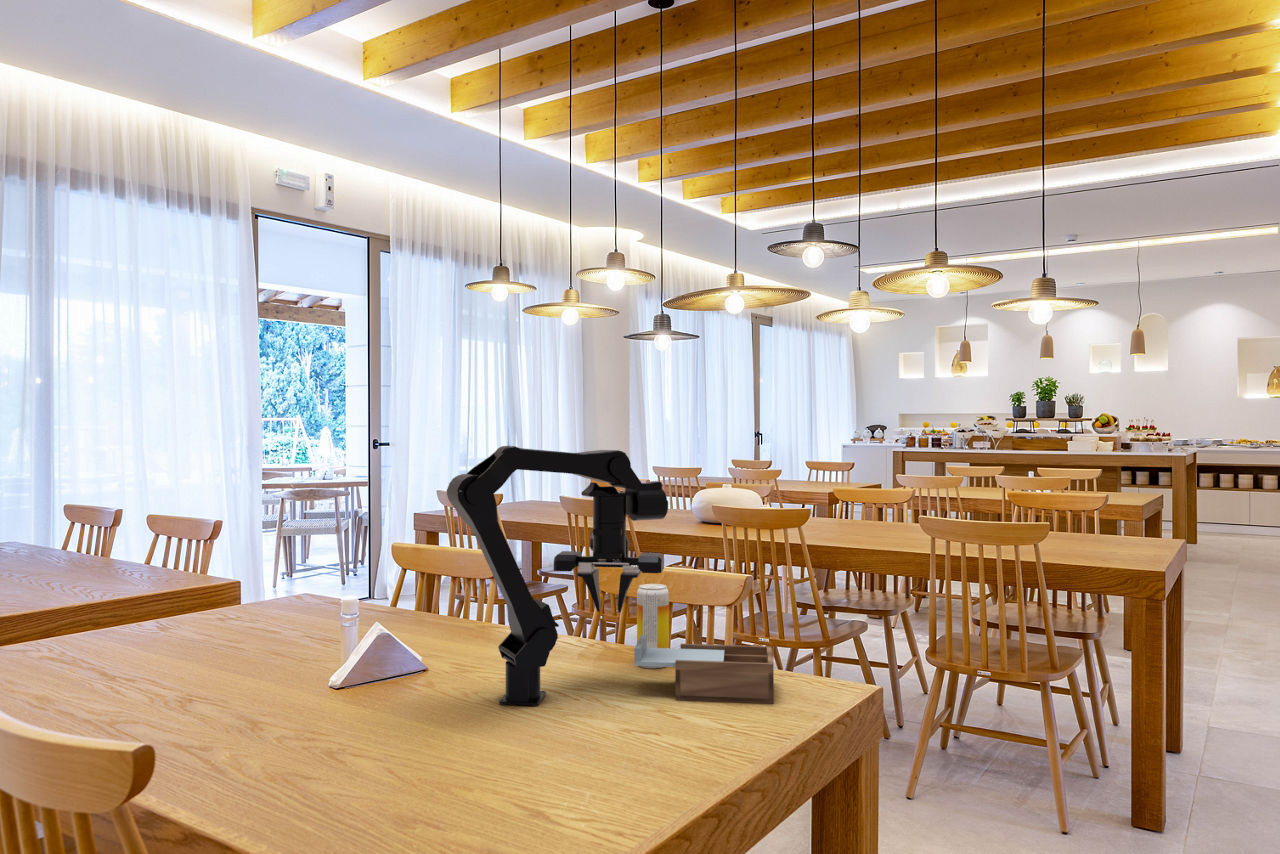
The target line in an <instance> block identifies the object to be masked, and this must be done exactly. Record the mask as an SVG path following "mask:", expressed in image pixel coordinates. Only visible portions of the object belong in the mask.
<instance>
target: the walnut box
mask: <svg viewBox="0 0 1280 854" xmlns="http://www.w3.org/2000/svg"><path fill="white" fill-rule="evenodd" d="M680 649H707V650H724V661H694V660H676V661H675V667H674V669H675V674H674V675H675V680H674V681H675V689H674V690H675V691H674V692H675V693H674V694H675V701H688V702H690V701H691V702H692V701H693V702H713V703H714V702H715V703H716V702H717V703H719V702H720V703H736V704H737V703H741V704H766V705H767V704H768V705H774V699H775V698H774V695H775V693H774V691H775V690H774V689H775V688H774V685H775V684H774V681H775V680H774V676H775V675H774V673H775V672H774V670H775V668H774V664H775V663H774V658H773V651H772V646H767V645H735V644H710V643H709V644H707V643H706V644H705V643H680Z"/></svg>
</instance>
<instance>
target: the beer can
mask: <svg viewBox="0 0 1280 854" xmlns="http://www.w3.org/2000/svg"><path fill="white" fill-rule="evenodd" d="M669 591H670V590H668V586H667V585H666V584H661V583H646V584H640V585H639V586H638V589H637V591H636V643H637V642H638V640H639V639H640V637H641V635H647V648H670V592H669ZM640 667H641V668H644V669H653V670H655V669H662V668H664V667H658V666H640Z"/></svg>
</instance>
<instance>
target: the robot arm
mask: <svg viewBox="0 0 1280 854" xmlns="http://www.w3.org/2000/svg"><path fill="white" fill-rule="evenodd" d="M631 466H632V465H631V460H630V458H629V456H628V455H627V453H626V452H624V451H621V450H616V449H615V450H614V449H599V450H588V451H581V452H566V451H555V450H543V449H542V450H541V449H533V448H522V447H518V446H514V445H501V446H500V447H498V448H497V449H496V450H495V451H494V452H493V453H492V454H490V456H488V457H487V458H485V459H484V460H483V461H481V462H480V463H478V464H477V465H475V466H474V467H472V468H471V469H470V470H469V471H467V472H466V473H461V474H458V475H456V476H455V477H453V478H452V479H451V480H450V482H449V483H448V486H447V489H446V496H447V500H448V501H449V503H450V504H451V506H452V507H453V509H455V511H456V512H457V515H459V516H460V518H461V520H463V522H464V523H466V525H467V526H468V527H469V529H470V530H471V531H472V533H473V535H474V537H475V539H476V541H477V543H478V545H479V547H480V550H481V552H482V555H483V556H484V558H485V561H486V563H487V565H488V567H489V570H490V571H491V574H492V576H493V578H494V580H495V582H496V584H497V587H498V589H499V590H500V594H501V596H502V598H503V599H504V602H505V604H506V610H507V611H506V612H507V621H508V627H509V629H510V633H509V634H508V635H507V636H506V637H505V638H504V639H503V640H502V642H501V643H500V644H499V645H498V647H497V648H498V652H499V653H500V657H501V658H502V659H504V660H505V693H504V695H503V696H502V697H501V698H500V699H499V700H498V704H500V705H513V706H519V705H520V706H538V705H539V704H540V703H541V702H542V701H543V699H544V698H545V696H546V695H547V691H546V690H541V668H542V667H546V664H547V661H548V658H549V656H550V652H551V651H552V650H553V648H555V646H556V644H557V640H558V639H559V636H558V635H559V634H558V631H557V628H558V627H559V625H560V624H559V623H557V621H555V619H554V617H553V614H552V609H551V606H550V605H549V604H548V603H546V602H544V601H541V600H540V599H538V598H535V599H534V598H533V596H532V594H531V592H530V590H529V587H528V586H527V584H526V581H525V579H524V576H523V574H522V573H521V570H520V568H519V566H518V563H517V561H516V559H515V557H514V555H513V552H512V550H511V548H510V545H509V544H508V541H507V539H506V536H505V534H504V532H503V530H502V528H501V526H500V524H499V518H498V517H499V516H498V506H497V501H496V497H495V493H496V492H498V490H500V488H502V487H503V486H504V485H505V483H506V482H507V481H508V479H509V478H510V477H511V476H512V475H513V474H514V473H515V472H516V471H517V470H518V471H533V472H543V473H544V472H546V473H557V474H558V473H559V474H571V475H574V476H575V475H576V476H579V477H581V478H585V479H589V480H592V481H595V482H590V483H589V484H588V486H587V487H586V488H584V489H583V490H582V491H581V493H580V494H581V496H583V497H591V498H592V511H593V512H592V515H593V516H592V531H591V535H590V541H589V549H590V550H591V551H592V556H591V555H590V556H586V555H582V551H580V550H579V551H578V550H577V551H572V550H571V551H569V550H566V551H565V550H563V551H560V552H558V554H556V555H555V556H554V558H553V572H572V571H574V569H575V568H576V567H577V569H578V571H577V573H576V577H580V578H582V579H583V581H584V583H585V585H586V586H587V589H588V591H589V593H590V596H591V598H592V602H593V604H594V606H595V609H596V611H597V612H598V613H600V612H601V606H602V605H601V604H602V602H601V590H600V579H599V574H600V568H622V570H623V571H622V572H621V574H620V575H619V577H620V578H619V586H618V587H619V589H618V599H617V610H618V611H617V613H621V612H622V610H623V607H624V603H625V601H626V597H627V594H628V591H629V588H630V586H631V583H632V581H633V579H637V578H638V577H639V576H640V575H641V573H642V574H662V573H663V571H664V569H665V556H664V555H663V554H662V553H661V552H641V553H640V554H639V555H638V556H629V548H630V540H629V538H628V536H627V521H626V520H627V516H628V517H629V518H630V520H631V521H634V522H635V521H651V520H653V521H654V520H656V521H657V520H663V519H665V518H666V516H667V515H668V509H669V500H667V498H668V497H667V494H666V492H665V490H664V489H663V483H662V481H648V482H641V480H640V479H639V477H638V476H637V474H636V472H635V471H634V469H633V468H632V467H631ZM597 482H599V483H606V484H609V486H606V485H605V486H600V485H599V484H598V483H597ZM617 488H622V489H624V491H618V489H617Z"/></svg>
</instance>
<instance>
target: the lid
mask: <svg viewBox="0 0 1280 854" xmlns="http://www.w3.org/2000/svg"><path fill="white" fill-rule="evenodd" d="M633 650H634V655H633V656H634V657H633V659H634V661H633V662H634V666H635V667H636V666H637V667H641V666H658V667H663V668H665V667H666V668H675V661H676V660H694V661H724V650H707V649H681V648H676V647H675V648H672V647H671V648H670V647H669V648H647V635H641V637H640V639H639V640H638V642H637V641H636V644H635V646H634V649H633Z"/></svg>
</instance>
